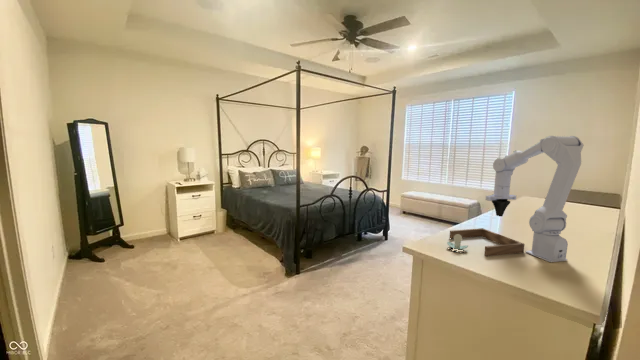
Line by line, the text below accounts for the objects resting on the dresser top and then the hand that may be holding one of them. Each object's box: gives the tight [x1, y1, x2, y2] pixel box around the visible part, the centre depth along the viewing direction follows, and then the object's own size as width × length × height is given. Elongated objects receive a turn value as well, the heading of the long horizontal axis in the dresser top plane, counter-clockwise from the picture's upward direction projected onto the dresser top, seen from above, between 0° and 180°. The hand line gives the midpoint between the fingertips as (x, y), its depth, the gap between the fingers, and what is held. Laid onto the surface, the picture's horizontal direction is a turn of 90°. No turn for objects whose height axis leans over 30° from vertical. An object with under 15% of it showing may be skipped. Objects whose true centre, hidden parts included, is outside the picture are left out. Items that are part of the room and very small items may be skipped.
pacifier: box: [447, 234, 469, 253], centre depth 106 cm, size 7×6×6 cm
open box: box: [449, 227, 525, 257], centre depth 112 cm, size 20×17×4 cm
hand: (499, 215), depth 122 cm, fingers closed
